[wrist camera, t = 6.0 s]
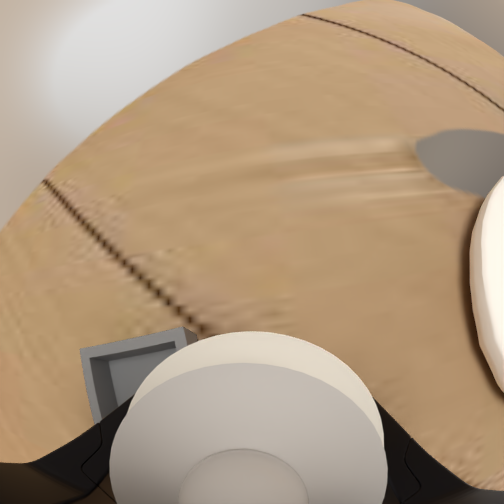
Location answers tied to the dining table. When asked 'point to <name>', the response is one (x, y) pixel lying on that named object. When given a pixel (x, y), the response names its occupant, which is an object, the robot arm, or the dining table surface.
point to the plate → (489, 279)
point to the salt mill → (250, 428)
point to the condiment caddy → (126, 366)
